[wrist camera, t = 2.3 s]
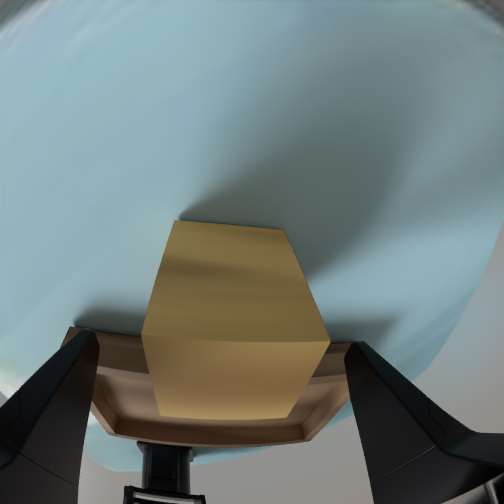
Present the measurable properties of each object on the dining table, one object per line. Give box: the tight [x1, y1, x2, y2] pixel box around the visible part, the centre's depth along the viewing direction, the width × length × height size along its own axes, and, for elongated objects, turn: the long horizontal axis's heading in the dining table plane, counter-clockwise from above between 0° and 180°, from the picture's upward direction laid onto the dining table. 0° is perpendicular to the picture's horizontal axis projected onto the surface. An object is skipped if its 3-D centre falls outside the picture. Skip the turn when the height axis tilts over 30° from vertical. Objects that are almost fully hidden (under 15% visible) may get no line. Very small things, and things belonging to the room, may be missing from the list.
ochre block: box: [141, 220, 331, 420], centre depth 10 cm, size 4×4×6 cm
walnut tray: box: [60, 326, 352, 447], centre depth 17 cm, size 12×18×2 cm, turn 81°
